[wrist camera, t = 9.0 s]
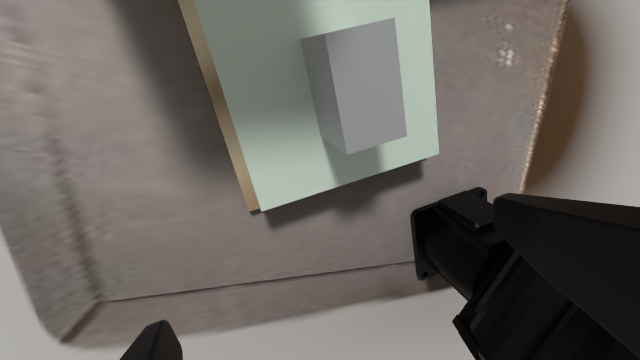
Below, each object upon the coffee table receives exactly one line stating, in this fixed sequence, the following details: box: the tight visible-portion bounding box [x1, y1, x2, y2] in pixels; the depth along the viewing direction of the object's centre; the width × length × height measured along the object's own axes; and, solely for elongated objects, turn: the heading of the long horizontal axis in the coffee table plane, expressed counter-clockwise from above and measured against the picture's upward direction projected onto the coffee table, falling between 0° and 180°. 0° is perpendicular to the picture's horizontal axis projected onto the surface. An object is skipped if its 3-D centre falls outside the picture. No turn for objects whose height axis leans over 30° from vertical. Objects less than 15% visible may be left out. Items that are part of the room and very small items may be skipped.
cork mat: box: [178, 0, 260, 212], centre depth 19 cm, size 13×13×1 cm
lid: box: [194, 0, 439, 212], centre depth 16 cm, size 12×12×6 cm
